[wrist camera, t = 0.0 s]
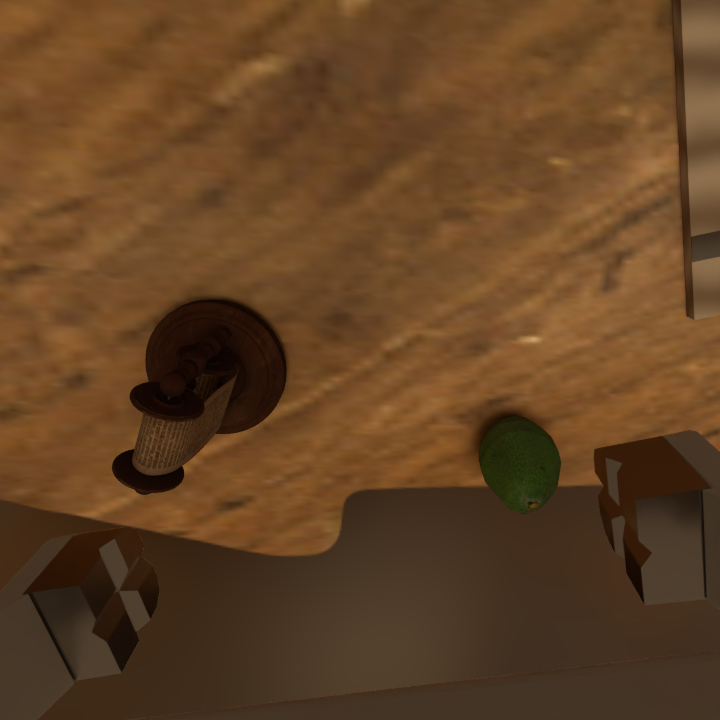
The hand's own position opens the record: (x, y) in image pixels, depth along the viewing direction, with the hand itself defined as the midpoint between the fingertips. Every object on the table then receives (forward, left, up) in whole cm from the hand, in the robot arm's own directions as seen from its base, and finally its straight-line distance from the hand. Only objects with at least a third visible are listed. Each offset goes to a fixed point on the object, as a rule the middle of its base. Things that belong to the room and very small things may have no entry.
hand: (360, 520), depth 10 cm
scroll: (+10, -21, -48) cm, 54 cm away
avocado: (+25, +8, -48) cm, 55 cm away
